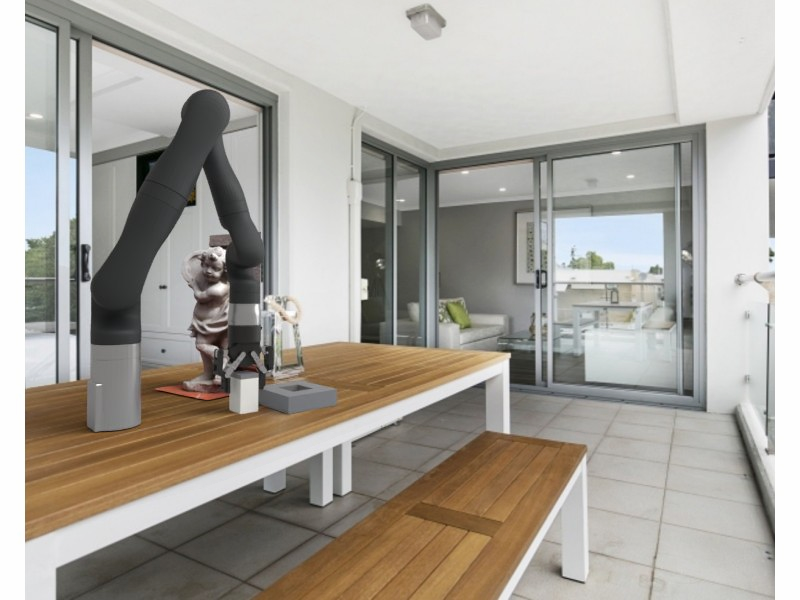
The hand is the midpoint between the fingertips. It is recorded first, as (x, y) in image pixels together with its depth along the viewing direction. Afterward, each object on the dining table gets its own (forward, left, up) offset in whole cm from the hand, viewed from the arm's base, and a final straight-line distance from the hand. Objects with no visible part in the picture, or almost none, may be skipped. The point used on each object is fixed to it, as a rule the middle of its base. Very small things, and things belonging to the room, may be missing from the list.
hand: (243, 390), depth 119 cm
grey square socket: (+13, -2, -5) cm, 14 cm away
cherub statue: (+4, +28, -5) cm, 29 cm away
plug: (0, 0, -5) cm, 5 cm away
